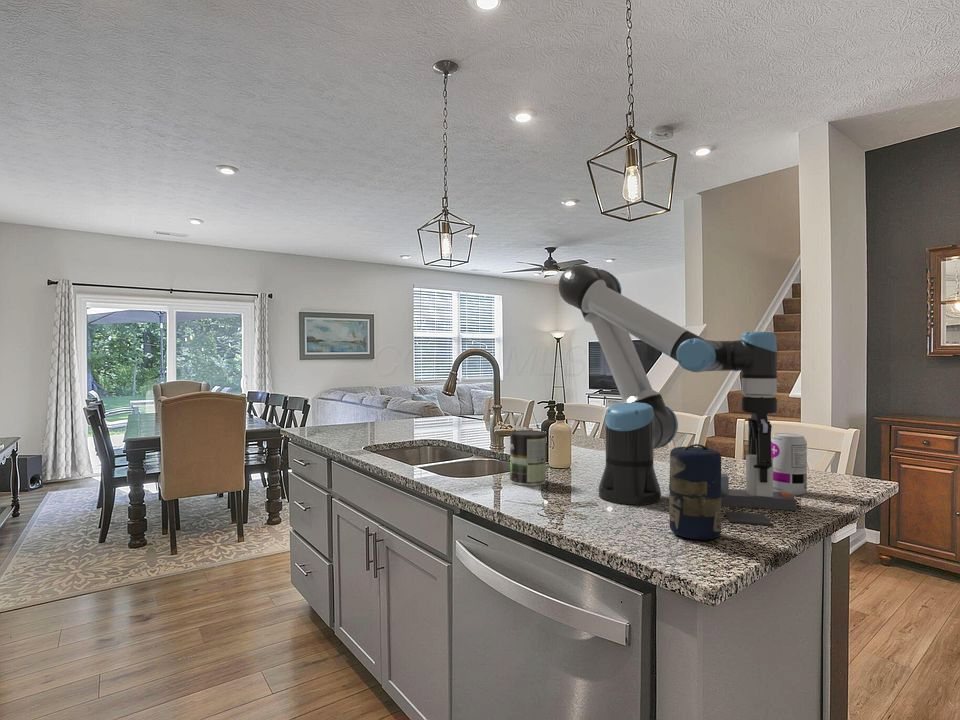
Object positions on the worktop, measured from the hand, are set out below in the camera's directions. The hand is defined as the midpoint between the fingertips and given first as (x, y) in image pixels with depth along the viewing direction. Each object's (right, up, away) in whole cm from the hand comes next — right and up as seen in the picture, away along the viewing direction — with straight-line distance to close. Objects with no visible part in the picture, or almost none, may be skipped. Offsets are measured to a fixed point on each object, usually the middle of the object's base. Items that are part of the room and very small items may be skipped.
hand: (759, 492), depth 129 cm
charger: (0, -2, 0) cm, 2 cm away
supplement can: (+14, -3, +12) cm, 19 cm away
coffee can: (-53, -3, +24) cm, 59 cm away
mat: (-9, -3, -12) cm, 15 cm away
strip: (-6, -3, 0) cm, 7 cm away
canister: (-25, -3, -23) cm, 34 cm away
